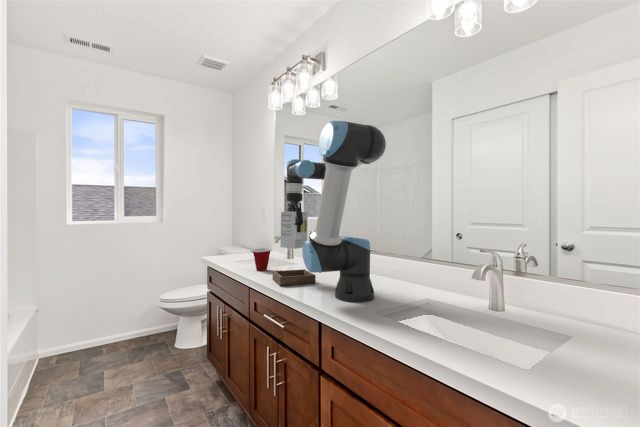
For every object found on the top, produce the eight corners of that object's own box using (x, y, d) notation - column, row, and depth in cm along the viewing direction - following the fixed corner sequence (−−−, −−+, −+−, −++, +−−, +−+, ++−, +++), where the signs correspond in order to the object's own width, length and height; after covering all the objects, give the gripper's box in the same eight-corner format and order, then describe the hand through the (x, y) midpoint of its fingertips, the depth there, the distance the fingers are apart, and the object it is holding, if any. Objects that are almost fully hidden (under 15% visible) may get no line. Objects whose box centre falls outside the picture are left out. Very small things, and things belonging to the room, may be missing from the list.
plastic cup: (247, 270, 172) (248, 248, 172) (264, 267, 179) (264, 247, 179) (257, 272, 164) (258, 250, 164) (274, 270, 171) (275, 249, 171)
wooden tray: (315, 283, 140) (315, 275, 140) (280, 286, 134) (280, 277, 134) (304, 277, 154) (304, 269, 154) (272, 279, 148) (272, 271, 148)
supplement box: (295, 249, 138) (295, 211, 138) (279, 247, 143) (280, 211, 143) (307, 247, 146) (308, 211, 146) (292, 245, 151) (292, 211, 151)
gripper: (310, 191, 134) (310, 240, 134) (294, 194, 157) (294, 236, 157) (294, 190, 131) (293, 240, 131) (280, 194, 154) (279, 236, 154)
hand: (293, 238), depth 144 cm, fingers closed on supplement box, 12 cm apart
